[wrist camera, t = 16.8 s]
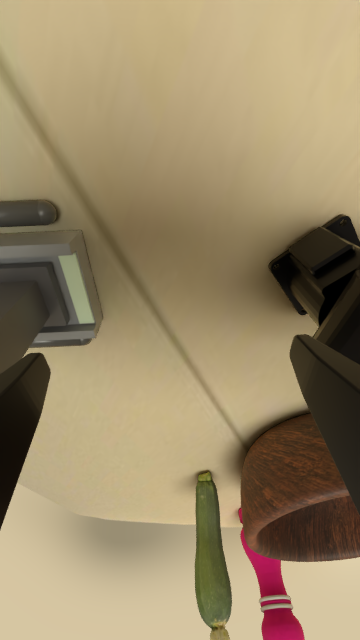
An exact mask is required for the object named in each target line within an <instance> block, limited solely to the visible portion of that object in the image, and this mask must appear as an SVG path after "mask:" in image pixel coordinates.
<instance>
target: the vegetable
mask: <svg viewBox="0 0 360 640" xmlns="http://www.w3.org/2000/svg"><path fill="white" fill-rule="evenodd" d="M196 533H197V534H196V535H197V536H196V538H197V542H196V559H195V591H196V598H197V604H198V608H199V612H200V615H201V617H202V619H203V621H204V622H205V623H206V624H207V625H208V626H209V627H210V628H212V631H211V634H210V638H211V639H210V640H230V638H229V635H228V632H227V630H226V629H225V624H226V623H227V621H228V619H229V617H230V614H231V606H232V595H231V587H230V580H229V576H228V572H227V567H226V562H225V557H224V552H223V546H222V539H221V529H220V511H219V501H218V495H217V489H216V486H215V484H214V482H213V481H212V477H211V475H210V472H209V471H208V472H207V473H205V474H201V475H199V476H198V483H197V486H196Z"/></svg>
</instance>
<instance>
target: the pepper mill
mask: <svg viewBox="0 0 360 640" xmlns="http://www.w3.org/2000/svg"><path fill="white" fill-rule="evenodd" d="M239 517H240V522H241V523H242V524H243V521H242V509H241V508H240V509H239ZM241 541H242V545H243V548H244V550H245V552H246V554H247V556H248V558H249V559H250V561H251V563H252V565H253V567H254V569H255V572H256V575H257V578H258V582H259V586H260V594H261V598H260V599H259V602H260V604H261V611H262V612H263V613H264V619H263V622H262V636H263V640H304V634H303V630H302V627H301V624H300V623H299V621H298V620H297V619H296V617H295V616H294V615H293V613H292V611H291V610H292V609H293V606H292V605H291V601H290V600H291V598H290V596H288V595H287V593H286V591H285V587H284V584H283V580H282V575H281V560H277V559H271V558H267V557H264V556H262V555H259V554H257V553H256V552H254V551H253V550H251V549H250V548H249V547H248V545H247V543H246V540H245V538H244V530H243V528H242V531H241Z"/></svg>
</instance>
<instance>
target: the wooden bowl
mask: <svg viewBox="0 0 360 640" xmlns="http://www.w3.org/2000/svg"><path fill="white" fill-rule="evenodd" d="M241 509H242V521H243V530H244V538H245V540H246V543H247V545H248V547H249V548H250V549H251V550H253V551H254V552H256V553H257V554H259V555H262V556H264V557H267V558H271V559H277V560H284V561H296V562H318V561H333V560H343V559H351V558H357V557H360V516H359V513H358V511H357V509H356V507H355V505H354V503H353V501H352V499H351V496H350V494H349V492H348V490H347V488H346V486H345V484H344V482H343V480H342V477H341V475H340V473H339V471H338V469H337V467H336V465H335V463H334V461H333V458H332V456H331V454H330V452H329V450H328V448H327V446H326V444H325V441H324V439H323V437H322V435H321V433H320V431H319V429H318V427H317V425H316V422H315V420H314V418H313V416H312V414H311V413H309V414H305V415H302V416H298V417H295V418H292V419H290V420H287V421H285V422H282V423H280V424H278V425H276V426H275V427H273V428H271V429H269V430H268V431H267V432H265V433H264V434H263V435H261V436H260V437H259V438H258V439H257V440H256V441H255V442H254V444H253V445H252V446H251V448H250V449H249V451H248V453H247V455H246V458H245V461H244V465H243V470H242V476H241Z"/></svg>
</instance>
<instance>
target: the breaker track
mask: <svg viewBox="0 0 360 640" xmlns="http://www.w3.org/2000/svg"><path fill="white" fill-rule="evenodd" d="M55 219H56V210H55V208H54V206H53V205H52V204H51V203H49V202H47V201H44V200H29V201H6V202H0V227H13V226H36V225H49V224H52V223H53V222H54V221H55ZM45 262H51V265H52V268H53V271H54V274H55V277H56V280H57V283H58V286H59V289H60V292H61V295H62V298H63V301H64V304H65V307H66V310H67V313H68V316H69V319H70V321H69V322H68V324H67V326H47V327H42V329H41V330H40V332H39V333H38V335H37V336H36V338H35V339H34V341H33V342H32V344H31V345H30V347H29V348H41V347H61V346H82V345H87V344H89V343H90V342H91V340H92V338H96V336H97V333H98V330H99V328H100V325H101V322H102V319H103V315H102V311H101V307H100V303H99V299H98V295H97V291H96V287H95V283H94V279H93V275H92V271H91V267H90V263H89V259H88V255H87V251H86V247H85V243H84V239H83V235H82V231H81V230H73V231H51V232H28V233H5V234H0V265H1V264H23V263H45Z"/></svg>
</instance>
